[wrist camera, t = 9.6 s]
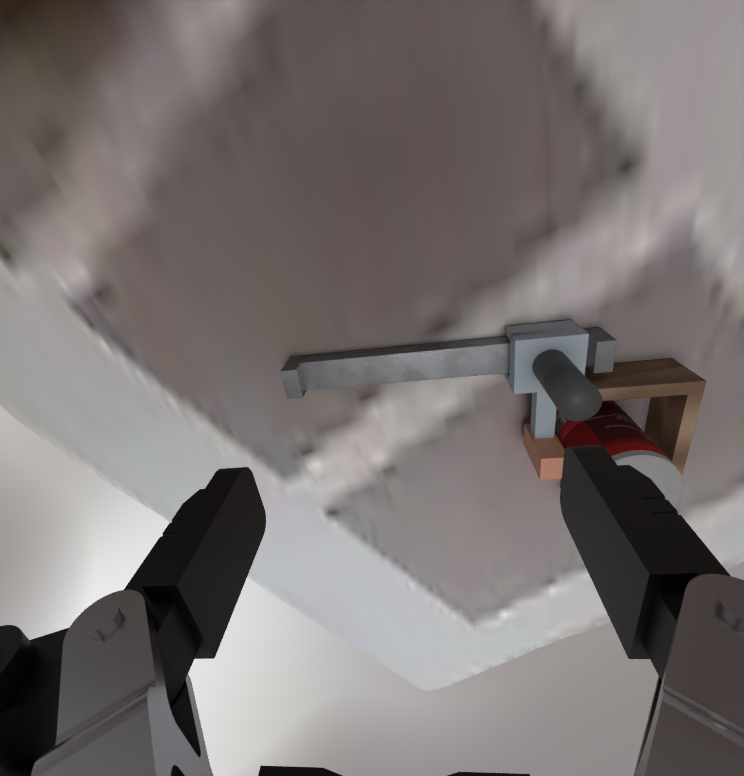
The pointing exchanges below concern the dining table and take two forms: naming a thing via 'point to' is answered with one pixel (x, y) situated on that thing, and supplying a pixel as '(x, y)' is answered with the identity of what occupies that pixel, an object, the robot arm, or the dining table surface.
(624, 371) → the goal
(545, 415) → the grey block with post
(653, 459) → the canned food
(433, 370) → the rail
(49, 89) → the dining table surface
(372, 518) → the dining table surface
